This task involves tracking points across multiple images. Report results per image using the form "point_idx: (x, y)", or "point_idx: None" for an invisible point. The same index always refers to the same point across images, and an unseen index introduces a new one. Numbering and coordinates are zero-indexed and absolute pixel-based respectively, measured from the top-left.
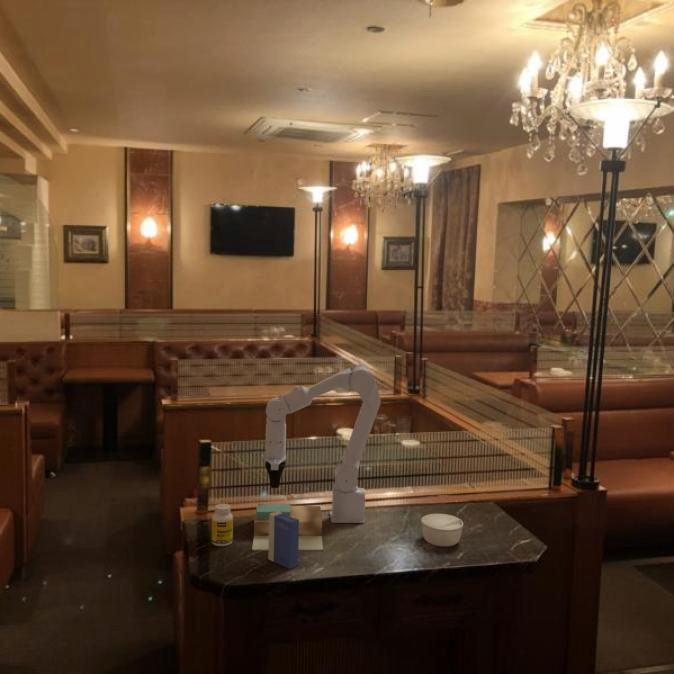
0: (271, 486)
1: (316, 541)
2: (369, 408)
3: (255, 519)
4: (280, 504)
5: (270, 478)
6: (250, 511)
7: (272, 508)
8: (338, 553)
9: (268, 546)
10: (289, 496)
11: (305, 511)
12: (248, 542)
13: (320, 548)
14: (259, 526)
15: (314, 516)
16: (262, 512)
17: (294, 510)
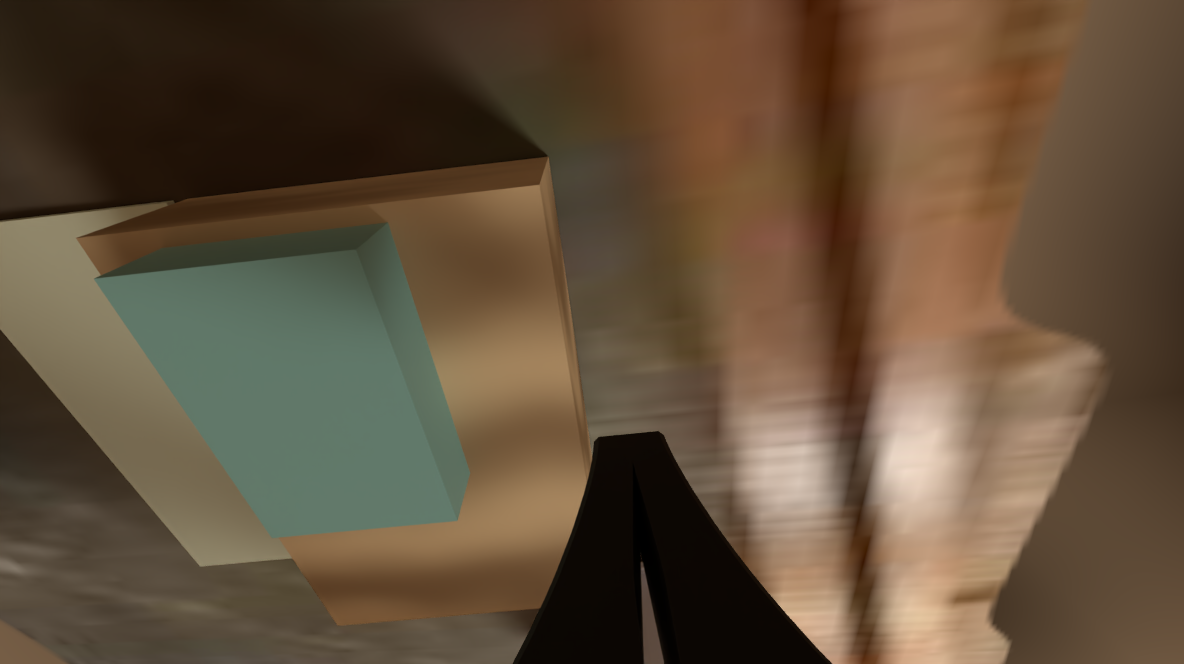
0: (595, 455)
1: (279, 539)
2: None
3: (139, 239)
4: (417, 458)
5: (563, 569)
6: (742, 56)
7: (279, 411)
8: (211, 605)
9: (51, 333)
10: (1048, 336)
11: (484, 549)
12: (49, 174)
13: (203, 558)
14: None
15: (411, 593)
16: (138, 334)
17: (488, 493)
